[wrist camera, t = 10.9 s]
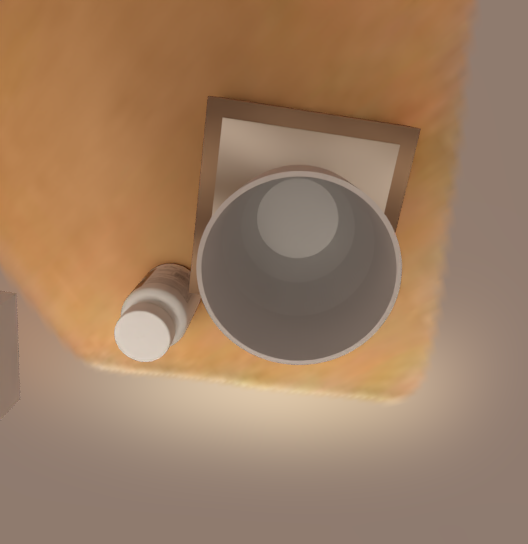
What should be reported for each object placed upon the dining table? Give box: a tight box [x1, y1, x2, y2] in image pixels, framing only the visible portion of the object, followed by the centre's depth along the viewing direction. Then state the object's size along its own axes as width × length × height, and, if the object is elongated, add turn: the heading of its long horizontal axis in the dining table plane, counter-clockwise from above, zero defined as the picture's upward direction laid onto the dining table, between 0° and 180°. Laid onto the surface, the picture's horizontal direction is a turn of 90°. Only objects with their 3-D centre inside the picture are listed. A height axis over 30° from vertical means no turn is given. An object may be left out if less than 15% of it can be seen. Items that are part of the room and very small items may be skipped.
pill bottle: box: [114, 264, 201, 362], centre depth 32 cm, size 4×4×8 cm
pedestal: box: [189, 96, 421, 294], centre depth 31 cm, size 12×12×5 cm
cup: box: [196, 165, 402, 365], centre depth 24 cm, size 8×8×10 cm
